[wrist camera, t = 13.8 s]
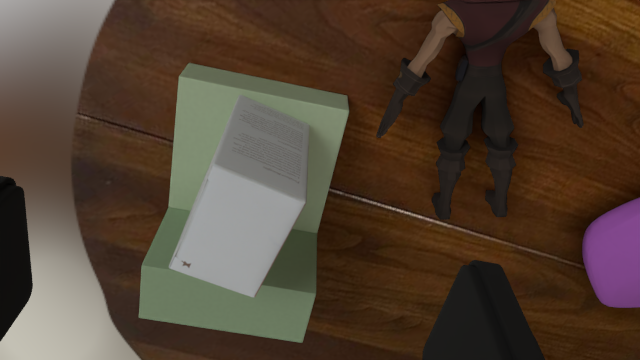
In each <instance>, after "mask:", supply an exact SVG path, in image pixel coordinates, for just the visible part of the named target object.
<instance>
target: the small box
mask: <svg viewBox="0 0 640 360" xmlns="http://www.w3.org/2000/svg"><path fill="white" fill-rule="evenodd" d="M309 129H310V126H309V124H307V123H304V122H302V121H300V120H298V119H295V118H293V117H291V116H289V115H286V114H284V113H282V112H280V111H277V110H275V109H273V108H271V107H268V106H266V105H264V104H261V103H259V102H257V101H254V100H252V99H250V98H247V97H245V96H243V95H239V96H238V98H237V101H236V103H235V105H234V108H233V110H232V112H231V115H230V117H229V120H228V122H227V125H226V127H225V130H224V132H223V135H222V137H221V139H220V142H219V144H218V146H217V149H216V151H215V154H214V156H213V158H212V161H211V163H210V165H209V168H208V170H207V172H206V175H205V177H204V180H203V182H202V184H201V187H200V189H199V192H198V194H197V197H196V199H195V202H194V204H193V206H192V209H191V211H190V214H189V216H188V219H187V221H186V224H185V226H184V229H183V232H182V234H181V237H180V239H179V242H178V244H177V247H176V249H175V252H174V254H173V257H172V259H171V262H170V264H169V268H170V269H172V270H175V271H178V272H181V273H184V274H186V275H189V276H192V277H195V278H198V279H201V280H203V281H206V282H209V283H212V284H215V285H218V286H221V287H223V288H226V289H229V290H232V291H235V292H238V293H241V294H244V295H247V296H250V297H255V296H256V294H257V293H258V291H259V289H260V287H261V285H262V283H263V282H264V280H265V278H266V276H267V274H268V272H269V270H270V269H271V267H272V265H273V263H274V261H275V259H276V258H277V256H278V254H279V252H280V250H281V248H282V247H283V245H284V243H285V241H286V239H287V237H288V235H289V234H290V232H291V230H292V228H293V226H294V225H295V223H296V221H297V219H298V217H299V215H300V213H301V212H302V210H303V208H304V206H305V205H306V202H307V180H308V153H309Z"/></svg>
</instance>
